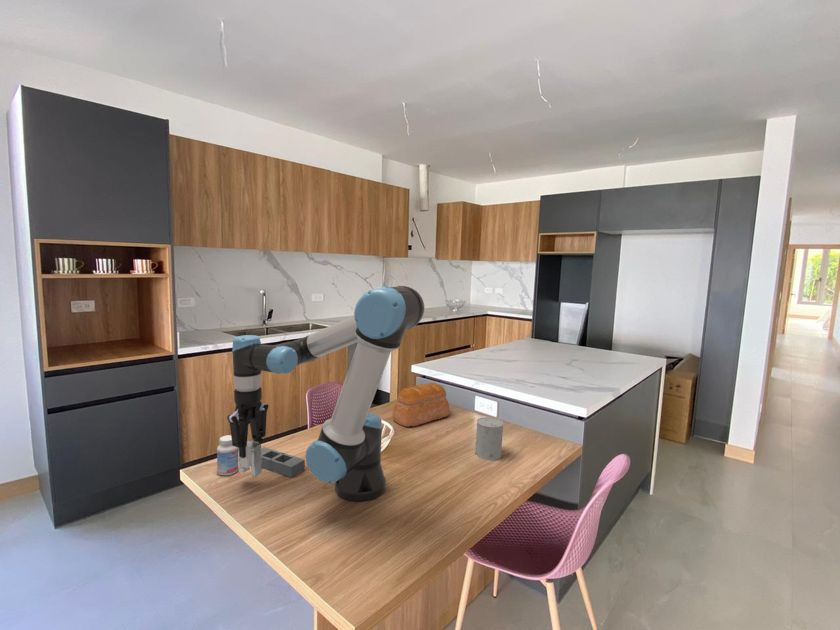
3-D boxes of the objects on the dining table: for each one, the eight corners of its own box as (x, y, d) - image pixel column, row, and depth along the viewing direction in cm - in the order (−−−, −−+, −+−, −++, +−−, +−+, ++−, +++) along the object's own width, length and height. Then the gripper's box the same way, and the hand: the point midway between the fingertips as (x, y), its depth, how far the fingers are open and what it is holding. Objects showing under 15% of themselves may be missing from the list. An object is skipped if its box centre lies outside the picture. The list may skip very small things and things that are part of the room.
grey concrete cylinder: (472, 457, 152) (473, 424, 151) (478, 446, 161) (480, 415, 160) (498, 462, 149) (500, 429, 147) (503, 451, 158) (505, 420, 156)
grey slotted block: (304, 469, 138) (304, 459, 138) (291, 477, 133) (291, 467, 132) (264, 456, 146) (264, 447, 146) (250, 463, 141) (250, 453, 140)
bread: (452, 417, 192) (454, 384, 190) (408, 430, 175) (409, 394, 173) (432, 408, 202) (433, 377, 200) (388, 420, 185) (389, 386, 183)
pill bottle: (230, 477, 132) (229, 443, 130) (213, 474, 133) (212, 440, 131) (242, 468, 137) (242, 435, 136) (225, 466, 139) (225, 433, 137)
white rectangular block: (262, 473, 127) (261, 444, 126) (254, 477, 124) (253, 447, 123) (246, 468, 130) (245, 439, 129) (238, 472, 127) (237, 443, 126)
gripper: (259, 380, 133) (261, 451, 136) (215, 393, 119) (218, 472, 121) (277, 383, 130) (279, 456, 132) (234, 397, 116) (237, 478, 118)
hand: (250, 464), depth 127 cm, fingers closed on white rectangular block, 3 cm apart
